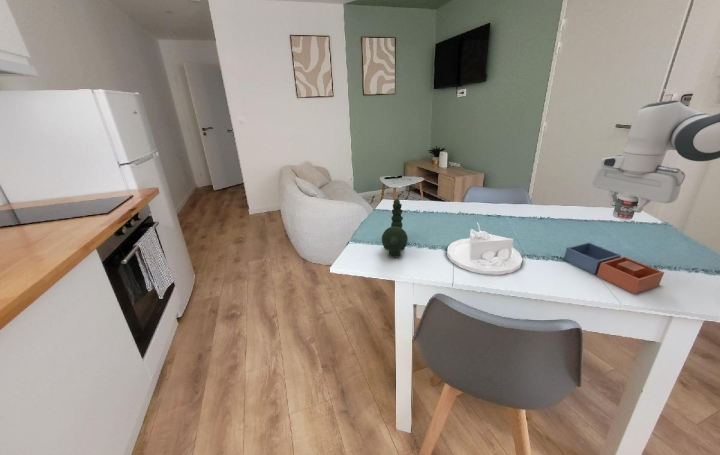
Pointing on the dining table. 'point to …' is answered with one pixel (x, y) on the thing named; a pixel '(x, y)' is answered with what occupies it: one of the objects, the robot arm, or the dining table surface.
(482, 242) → the dish
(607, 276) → the terracotta bin
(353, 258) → the dining table surface
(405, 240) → the green topiary ornament
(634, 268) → the block
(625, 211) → the pill bottle
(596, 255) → the blue bin
